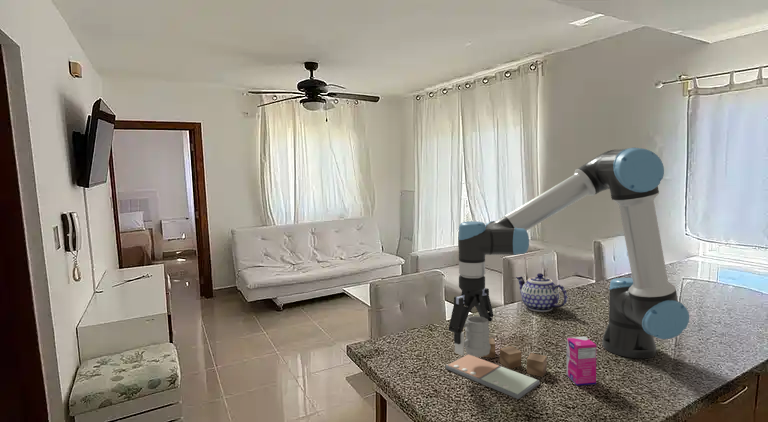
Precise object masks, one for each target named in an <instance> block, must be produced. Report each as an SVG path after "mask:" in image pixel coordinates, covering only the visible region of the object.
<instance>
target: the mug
mask: <svg viewBox="0 0 768 422" xmlns="http://www.w3.org/2000/svg"><path fill="white" fill-rule="evenodd" d="M489 325H490V323H489V324H488V319H486V318H485V317H481V316H480V315H472V316H467V319H466V322H465V325H464V327H463V329H464V331H465V332H464V333H465V339H464V352H465V354H466V355H467V354H469V355H472V356H475V357H477V358H484V357H483V356H486V355H488V354H489V352H490V349H491V346H490V344H489V338H490V331H491V330H490V328H489ZM453 344H454V345H455V343H454V342H453Z"/></svg>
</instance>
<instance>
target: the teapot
mask: <svg viewBox="0 0 768 422" xmlns="http://www.w3.org/2000/svg"><path fill="white" fill-rule="evenodd" d="M515 278H516V279H517V281H518V286H519V292H520V296H521V300H522V303H523V304H524V305H525V306H526V307H527V309H528V310H529V311H533V312H539V313H540V312H541V313H546V312H551V311H552V310H553V309H555V308H561V307H564V306H565V305H566V303H567V302H568V292H567V290H566V288H565V287H564V286H563V285H562V284H557V285H556V284H555V283H554V282H553V280H552V279H551V278H549V277H544V273H541V272H539V273H537V274H536V276H533V277H529V278H528V279H527V281H526V282H525V280H524V279H525V278H524V277H523V276H521V275H520V276H516V277H515ZM559 288H560V290H561V292H562V294H563V302H561V304H559V302H560V291H559Z"/></svg>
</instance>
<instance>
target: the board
mask: <svg viewBox="0 0 768 422" xmlns="http://www.w3.org/2000/svg"><path fill="white" fill-rule="evenodd" d="M445 369H446V370H447V371H451V372H452V373H455V374H458V375H460V376H462V377H464V378H467V379H469V380H471V381H474V382H476V383H478V384H481V385H484V386H486V387H488V388H492V389H493V390H495V391H498V392H500V393H503V394H505V395H507V396H509V397H512V398H514V399H516V400H519V399H521V398H522V397H524V396H525V395H526V394H528V393H529V392H531V391H532V390H533V389H535V388H536V387H538V386H539V385H540V380H539V379H536V378H534V377H531V376H528V375H525V374H523V373H520V372H517V371H515V370H512V369H509V368H507V367H505V366H503V365H502V366H501V365H499V364H496V363H494V362H491V361H488V360H485V359H482V358H481V357H476V356H472V355H469V354H467V353H466V354H464V355H463V356H462V357H460V358H458V359H456V360H453V361H452V362H449V363H448V364H446V365H445Z"/></svg>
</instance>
